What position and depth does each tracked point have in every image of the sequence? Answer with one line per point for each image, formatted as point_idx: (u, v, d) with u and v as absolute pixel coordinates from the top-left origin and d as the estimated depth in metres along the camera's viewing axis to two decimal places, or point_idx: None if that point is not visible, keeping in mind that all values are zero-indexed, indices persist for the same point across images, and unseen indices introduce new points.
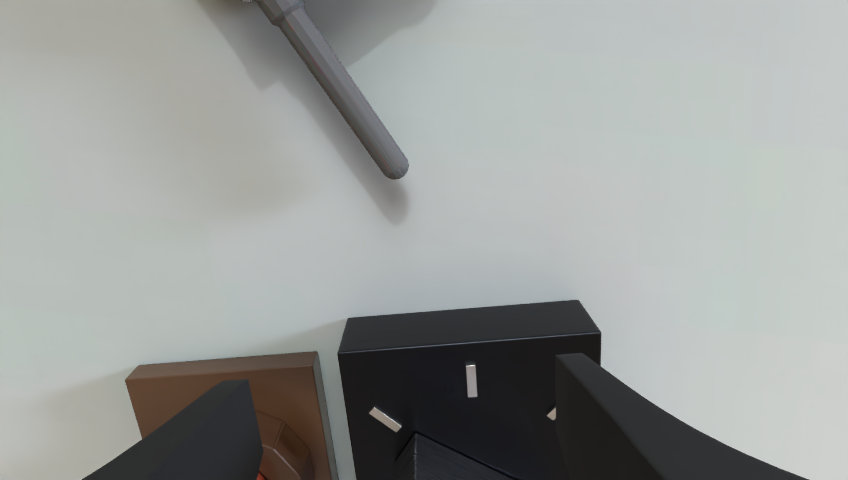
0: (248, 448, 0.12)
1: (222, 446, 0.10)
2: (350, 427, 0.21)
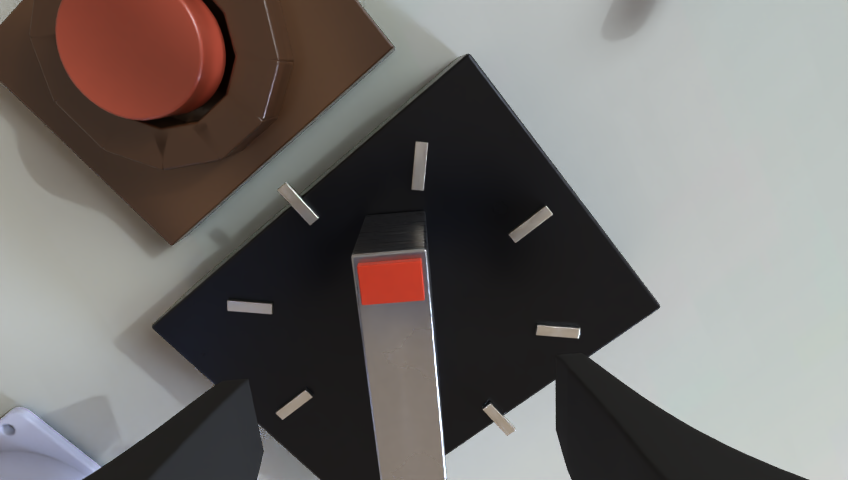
0: (248, 448, 0.12)
1: (222, 446, 0.10)
2: (378, 134, 0.15)
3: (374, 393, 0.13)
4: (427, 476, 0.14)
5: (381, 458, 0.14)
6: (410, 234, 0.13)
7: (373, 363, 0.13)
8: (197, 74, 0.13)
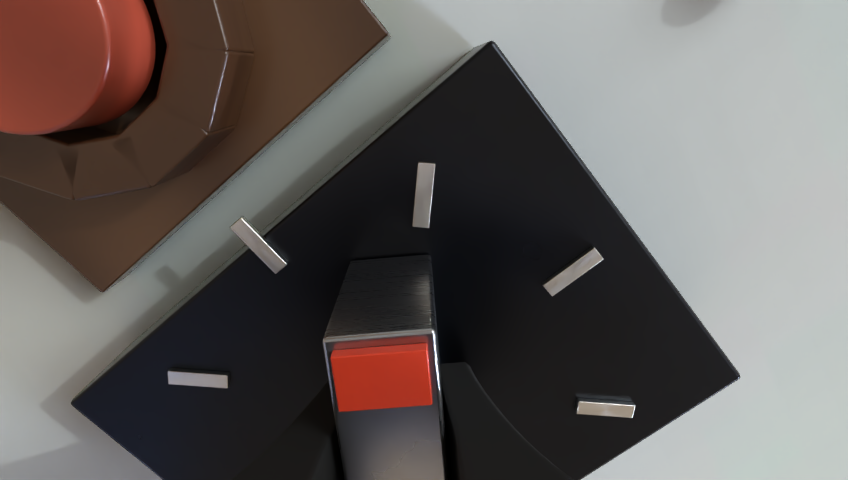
0: None
1: None
2: (367, 152, 0.11)
3: None
4: None
5: None
6: (410, 298, 0.09)
7: None
8: (103, 69, 0.09)
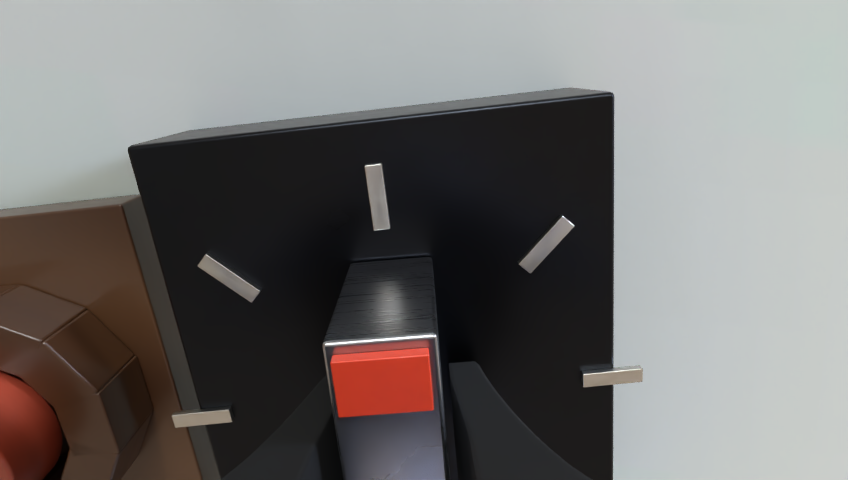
0: None
1: None
2: (171, 296, 0.12)
3: None
4: None
5: None
6: (412, 302, 0.09)
7: None
8: None
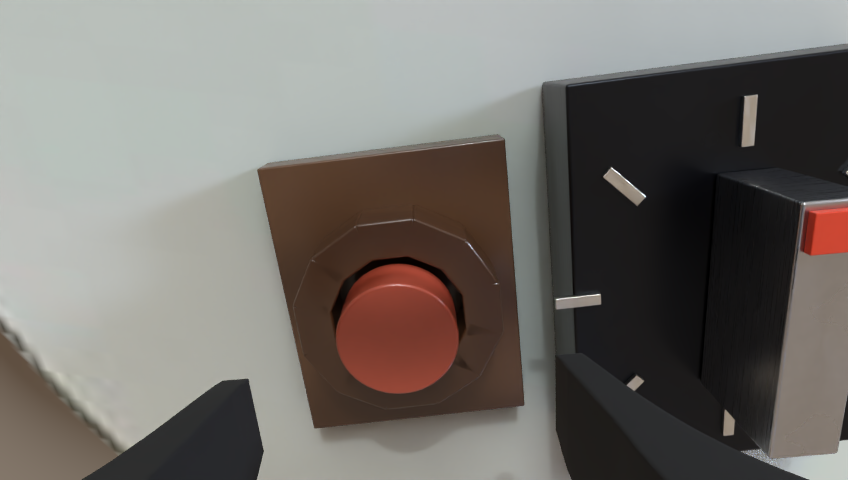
0: (248, 448, 0.12)
1: (222, 446, 0.10)
2: (573, 202, 0.15)
3: (789, 352, 0.13)
4: (821, 440, 0.14)
5: (778, 420, 0.13)
6: (825, 185, 0.13)
7: (797, 319, 0.13)
8: (447, 310, 0.15)
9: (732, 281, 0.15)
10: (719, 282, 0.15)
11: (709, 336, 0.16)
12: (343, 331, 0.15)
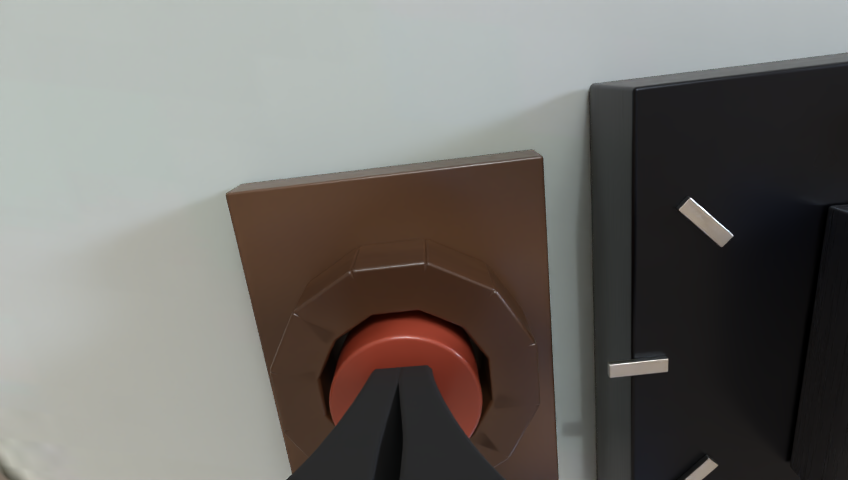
0: None
1: (397, 433, 0.10)
2: (637, 242, 0.12)
3: None
4: None
5: None
6: None
7: None
8: (468, 368, 0.12)
9: None
10: (827, 347, 0.12)
11: (807, 413, 0.13)
12: (338, 393, 0.12)
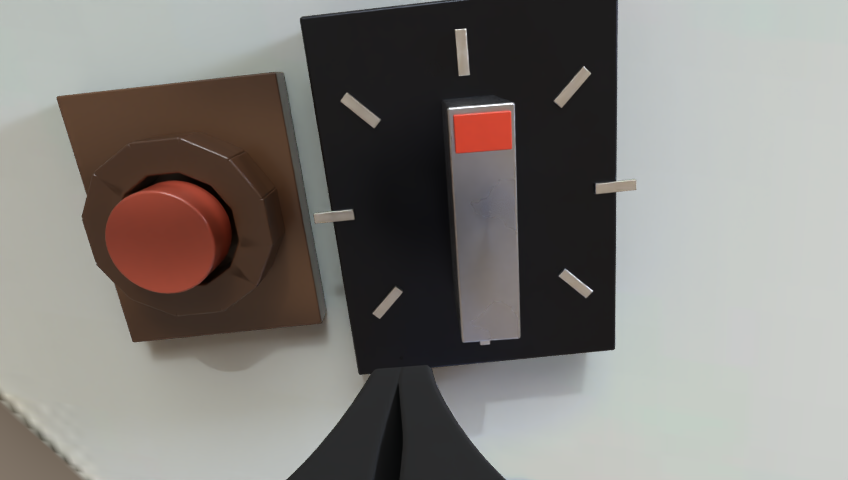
0: None
1: (397, 433, 0.10)
2: (319, 125, 0.17)
3: (460, 243, 0.15)
4: (503, 325, 0.16)
5: (463, 307, 0.16)
6: (493, 100, 0.15)
7: (461, 213, 0.15)
8: (199, 215, 0.17)
9: None
10: (448, 197, 0.18)
11: (451, 249, 0.18)
12: (110, 234, 0.17)
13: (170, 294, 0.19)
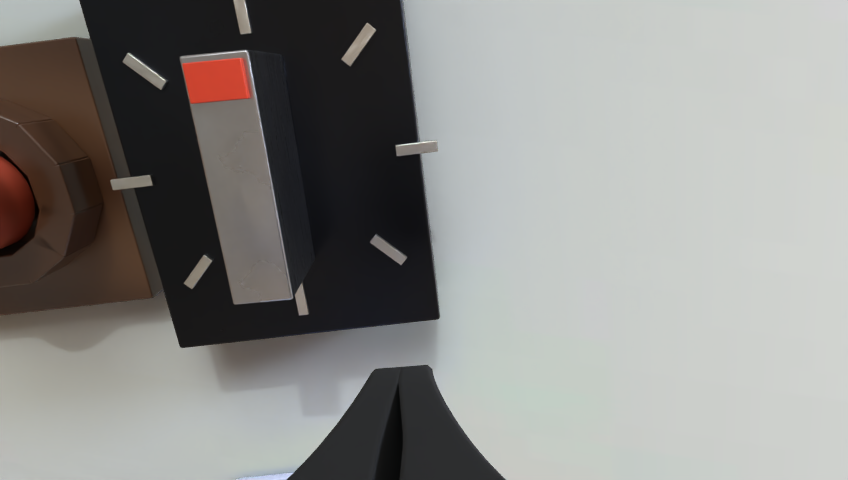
0: None
1: (397, 433, 0.10)
2: (106, 87, 0.17)
3: (214, 199, 0.15)
4: (272, 286, 0.15)
5: (228, 266, 0.15)
6: None
7: (210, 167, 0.14)
8: None
9: None
10: None
11: None
12: None
13: None
